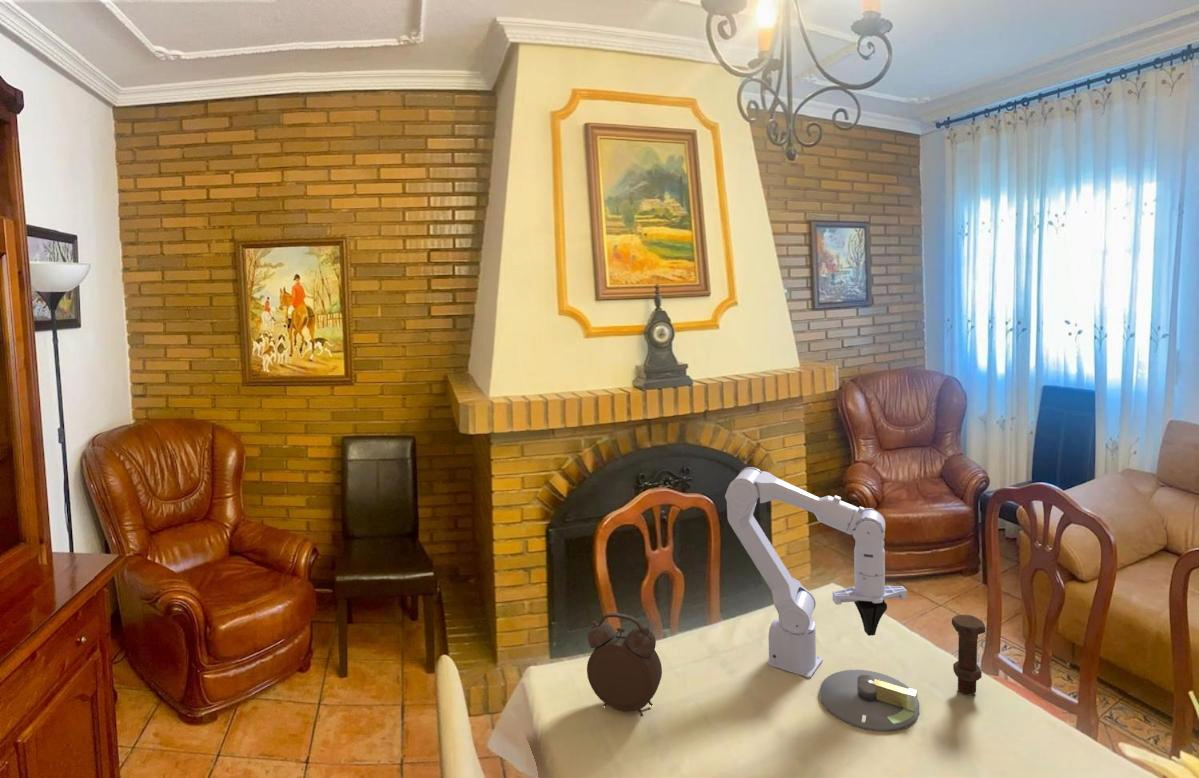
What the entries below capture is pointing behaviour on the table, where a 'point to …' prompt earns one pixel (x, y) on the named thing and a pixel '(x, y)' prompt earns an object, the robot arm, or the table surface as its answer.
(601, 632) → the alarm clock
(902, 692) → the peg lever
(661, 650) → the table surface
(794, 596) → the robot arm
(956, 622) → the bolt
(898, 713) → the dial plate
